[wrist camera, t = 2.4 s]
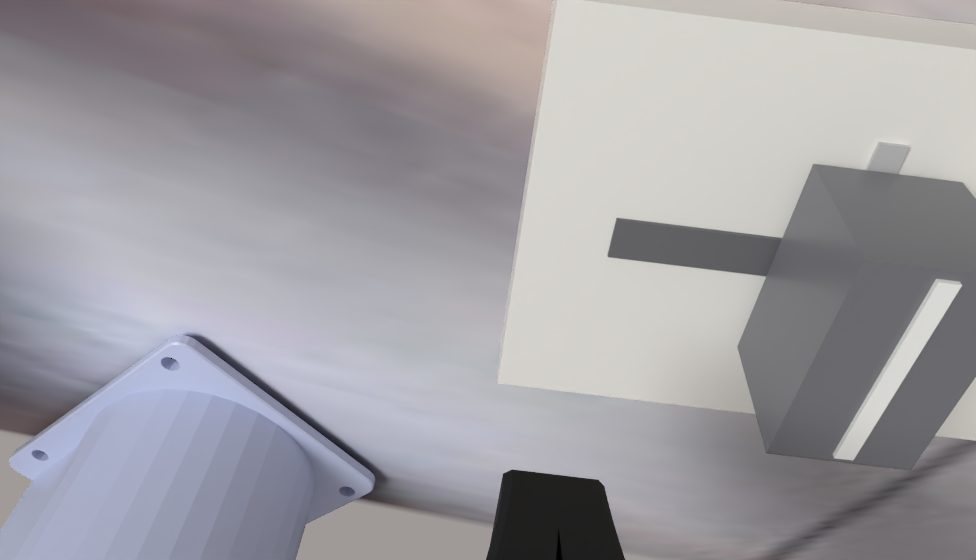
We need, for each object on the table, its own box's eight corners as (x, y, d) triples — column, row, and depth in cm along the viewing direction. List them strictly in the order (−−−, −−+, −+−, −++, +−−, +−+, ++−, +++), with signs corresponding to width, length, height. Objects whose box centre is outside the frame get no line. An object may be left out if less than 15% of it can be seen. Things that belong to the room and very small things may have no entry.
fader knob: (737, 346, 18) (767, 456, 16) (813, 163, 15) (866, 263, 13) (861, 361, 18) (911, 474, 16) (962, 182, 15) (1046, 285, 13)
